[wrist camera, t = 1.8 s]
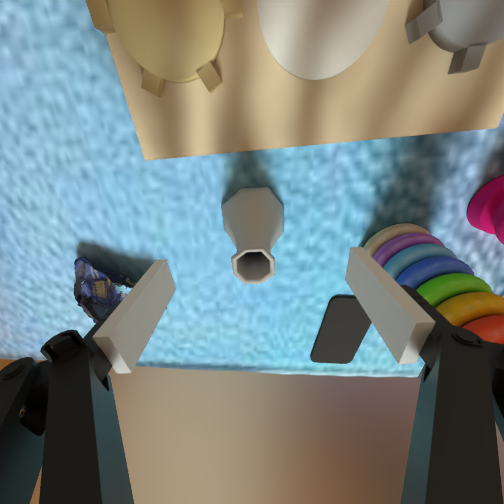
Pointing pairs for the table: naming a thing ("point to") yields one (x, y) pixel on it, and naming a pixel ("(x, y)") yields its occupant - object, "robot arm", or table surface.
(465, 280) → the stacking toy
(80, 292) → the snack package
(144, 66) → the gear board
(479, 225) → the pepper mill
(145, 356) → the table surface
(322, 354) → the phone
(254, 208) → the flask
